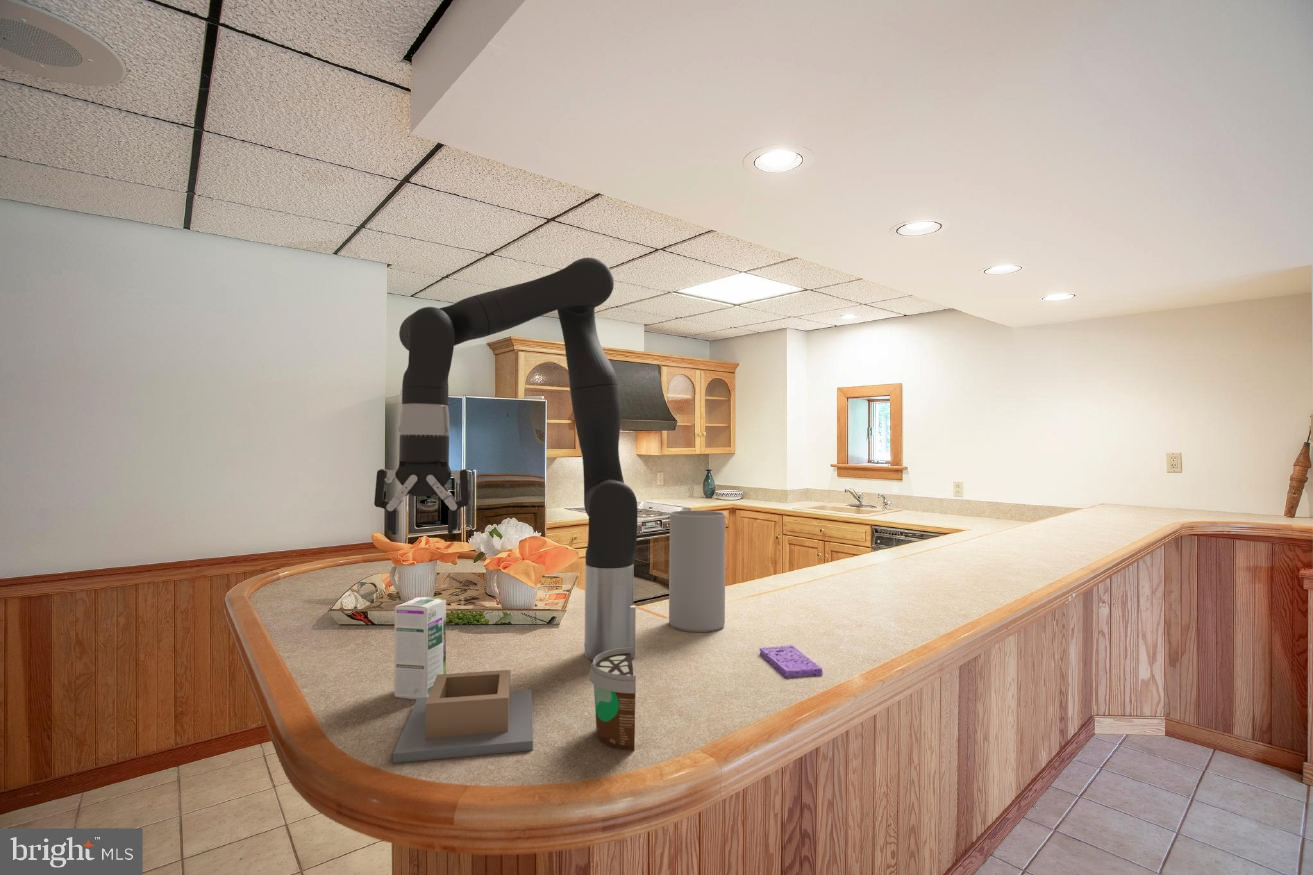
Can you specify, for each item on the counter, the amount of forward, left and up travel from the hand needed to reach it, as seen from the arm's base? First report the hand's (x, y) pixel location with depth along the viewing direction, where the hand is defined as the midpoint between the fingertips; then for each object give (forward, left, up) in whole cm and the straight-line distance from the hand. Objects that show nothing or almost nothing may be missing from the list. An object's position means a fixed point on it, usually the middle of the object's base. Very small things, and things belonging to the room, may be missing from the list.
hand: (422, 533), depth 97 cm
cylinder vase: (-54, -28, -26) cm, 66 cm away
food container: (-28, +20, -26) cm, 43 cm away
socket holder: (-9, +14, -25) cm, 30 cm away
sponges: (-64, -1, -26) cm, 69 cm away
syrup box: (0, 0, -26) cm, 26 cm away
